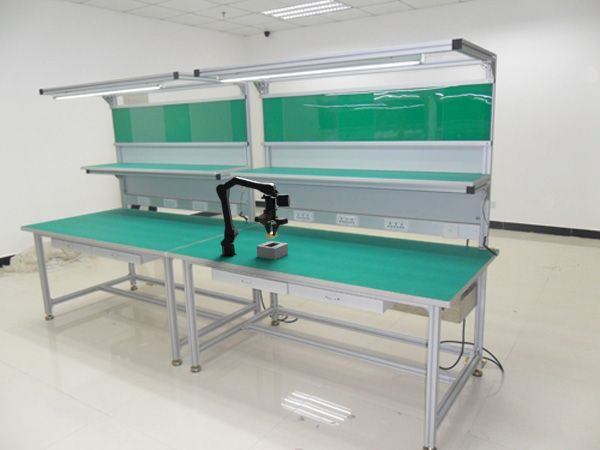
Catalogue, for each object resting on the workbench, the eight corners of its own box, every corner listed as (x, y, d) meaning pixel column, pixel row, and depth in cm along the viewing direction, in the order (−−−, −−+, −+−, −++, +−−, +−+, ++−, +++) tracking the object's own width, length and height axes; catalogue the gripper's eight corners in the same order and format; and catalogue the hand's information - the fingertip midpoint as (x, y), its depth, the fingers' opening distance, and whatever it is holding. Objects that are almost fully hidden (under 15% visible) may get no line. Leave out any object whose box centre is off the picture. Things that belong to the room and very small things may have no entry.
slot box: (257, 256, 248) (256, 245, 247) (270, 251, 258) (270, 240, 257) (275, 259, 242) (274, 248, 241) (288, 254, 252) (287, 243, 250)
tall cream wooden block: (265, 238, 246) (265, 234, 245) (272, 236, 251) (272, 231, 250) (270, 239, 244) (270, 234, 244) (277, 236, 249) (277, 232, 249)
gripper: (246, 208, 243) (248, 237, 246) (275, 211, 232) (276, 241, 236) (260, 204, 252) (261, 232, 255) (288, 207, 241) (289, 236, 245)
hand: (271, 235), depth 247 cm, fingers closed on tall cream wooden block, 3 cm apart
